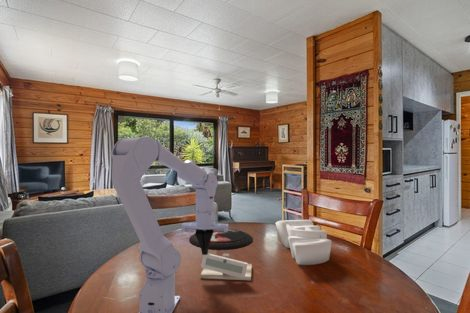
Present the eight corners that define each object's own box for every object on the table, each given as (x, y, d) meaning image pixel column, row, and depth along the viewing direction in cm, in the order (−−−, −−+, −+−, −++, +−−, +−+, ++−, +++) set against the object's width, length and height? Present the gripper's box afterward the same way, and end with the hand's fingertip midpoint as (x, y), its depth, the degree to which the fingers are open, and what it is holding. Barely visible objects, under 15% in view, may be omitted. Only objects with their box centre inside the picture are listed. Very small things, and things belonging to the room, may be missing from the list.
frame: (244, 279, 73) (247, 265, 73) (200, 268, 75) (203, 254, 74) (244, 276, 75) (247, 262, 75) (201, 266, 76) (204, 252, 76)
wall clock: (179, 252, 103) (248, 253, 97) (178, 242, 103) (247, 242, 97) (200, 233, 129) (256, 232, 123) (200, 224, 129) (255, 223, 123)
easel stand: (251, 280, 75) (250, 257, 75) (200, 278, 76) (200, 255, 76) (251, 267, 84) (251, 246, 84) (206, 265, 85) (206, 244, 85)
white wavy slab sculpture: (339, 271, 81) (339, 240, 81) (290, 271, 81) (290, 240, 81) (307, 236, 116) (307, 214, 116) (273, 236, 116) (273, 215, 116)
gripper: (229, 207, 79) (229, 249, 79) (186, 207, 80) (186, 247, 80) (226, 213, 72) (226, 258, 72) (179, 212, 73) (179, 256, 73)
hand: (205, 253), depth 76 cm, fingers closed, pressing on frame
